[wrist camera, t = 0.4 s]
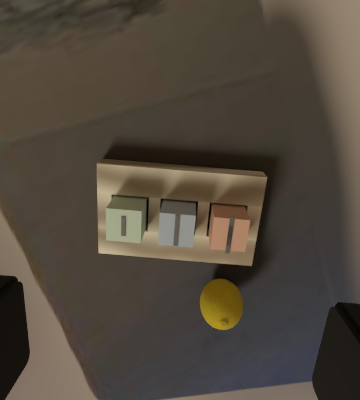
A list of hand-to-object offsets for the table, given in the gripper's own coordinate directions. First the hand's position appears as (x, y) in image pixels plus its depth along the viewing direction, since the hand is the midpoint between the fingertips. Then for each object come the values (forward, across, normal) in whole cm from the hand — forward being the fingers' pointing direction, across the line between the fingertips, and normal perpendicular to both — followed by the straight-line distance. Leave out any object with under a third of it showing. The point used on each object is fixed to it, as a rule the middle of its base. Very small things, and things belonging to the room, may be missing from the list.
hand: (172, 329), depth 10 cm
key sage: (+29, +7, +7) cm, 31 cm away
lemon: (+32, -6, +18) cm, 37 cm away
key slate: (+29, +1, +8) cm, 30 cm away
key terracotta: (+29, -5, +8) cm, 31 cm away
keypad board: (+31, +1, +8) cm, 32 cm away
